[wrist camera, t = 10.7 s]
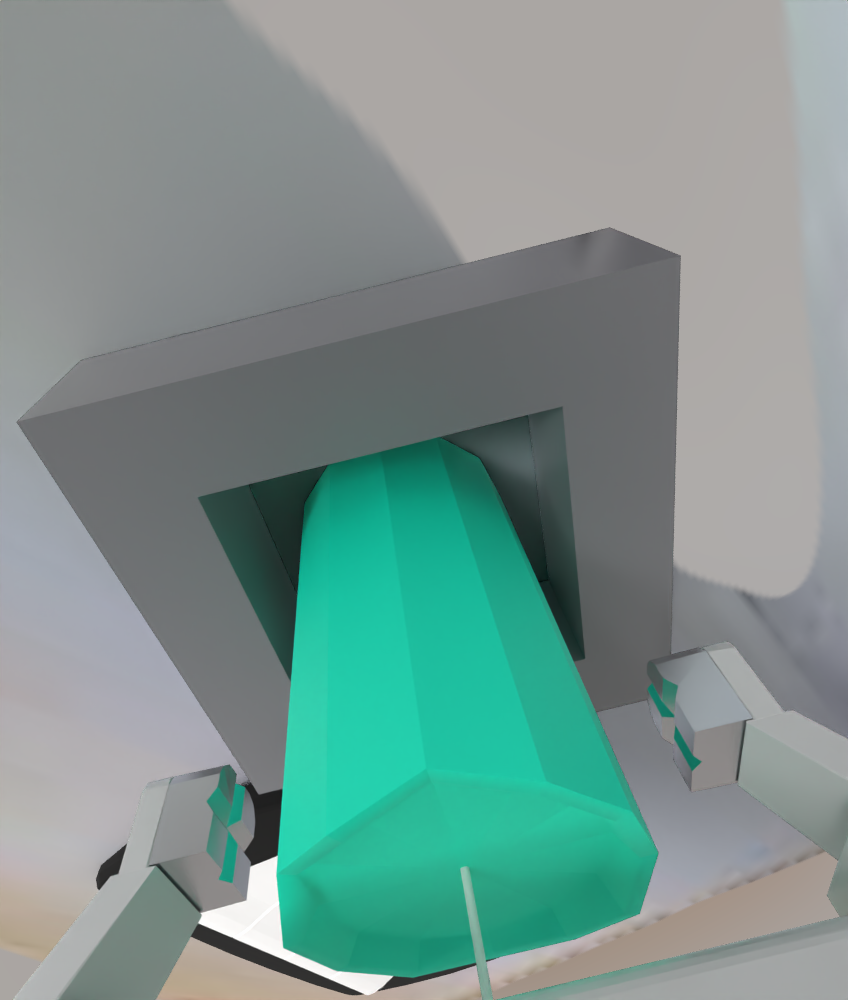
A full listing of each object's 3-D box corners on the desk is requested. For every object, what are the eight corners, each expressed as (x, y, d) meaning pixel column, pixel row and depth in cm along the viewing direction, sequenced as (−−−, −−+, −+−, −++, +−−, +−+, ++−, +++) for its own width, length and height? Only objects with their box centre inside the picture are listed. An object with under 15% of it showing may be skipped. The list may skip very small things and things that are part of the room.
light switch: (47, 913, 24) (319, 799, 20) (77, 838, 27) (327, 722, 23) (348, 1026, 34) (571, 964, 30) (351, 964, 37) (558, 899, 33)
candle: (531, 457, 18) (801, 915, 7) (463, 610, 20) (591, 1090, 10) (327, 409, 16) (317, 907, 6) (284, 582, 19) (227, 1118, 9)
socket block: (81, 360, 14) (16, 421, 12) (610, 227, 14) (680, 255, 11) (269, 702, 22) (258, 794, 19) (623, 615, 21) (669, 694, 18)
